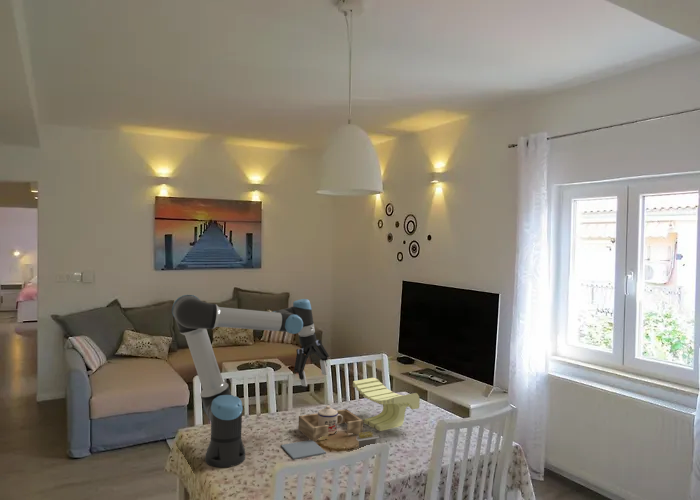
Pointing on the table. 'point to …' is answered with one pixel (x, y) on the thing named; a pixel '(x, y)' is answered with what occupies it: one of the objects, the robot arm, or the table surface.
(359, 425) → the open enclosure
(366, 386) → the slatted curved stool
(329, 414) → the teacup with lid
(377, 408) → the table surface
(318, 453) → the mat
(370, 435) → the platform
